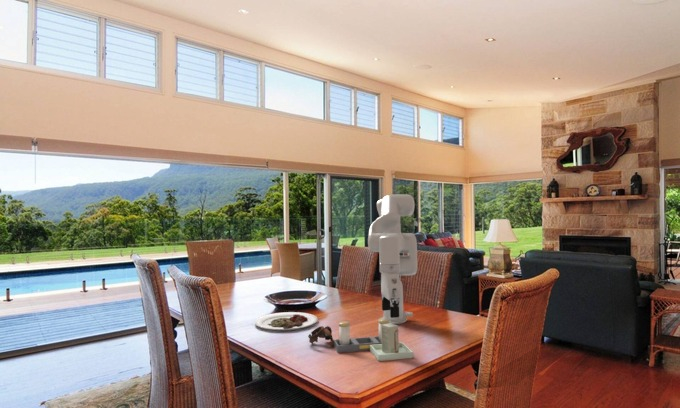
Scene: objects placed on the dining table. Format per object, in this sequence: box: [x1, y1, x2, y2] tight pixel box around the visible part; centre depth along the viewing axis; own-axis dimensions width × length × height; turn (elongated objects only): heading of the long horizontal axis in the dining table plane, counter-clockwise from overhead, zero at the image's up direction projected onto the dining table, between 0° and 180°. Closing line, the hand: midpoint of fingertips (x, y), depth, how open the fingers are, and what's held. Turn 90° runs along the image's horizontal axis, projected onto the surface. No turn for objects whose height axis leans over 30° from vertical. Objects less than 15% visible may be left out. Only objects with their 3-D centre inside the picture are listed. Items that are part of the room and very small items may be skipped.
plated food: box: [254, 311, 319, 331], centre depth 193 cm, size 30×30×3 cm
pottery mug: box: [307, 325, 335, 348], centre depth 162 cm, size 12×10×8 cm
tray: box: [369, 341, 414, 362], centre depth 149 cm, size 13×11×2 cm
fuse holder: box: [333, 335, 382, 354], centre depth 157 cm, size 23×8×2 cm, turn 102°
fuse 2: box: [377, 318, 389, 342], centre depth 159 cm, size 4×4×10 cm
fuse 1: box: [338, 320, 351, 345], centre depth 155 cm, size 4×4×10 cm
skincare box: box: [381, 323, 400, 354], centre depth 149 cm, size 5×4×10 cm
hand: (390, 313), depth 150 cm, fingers open, 9 cm apart
